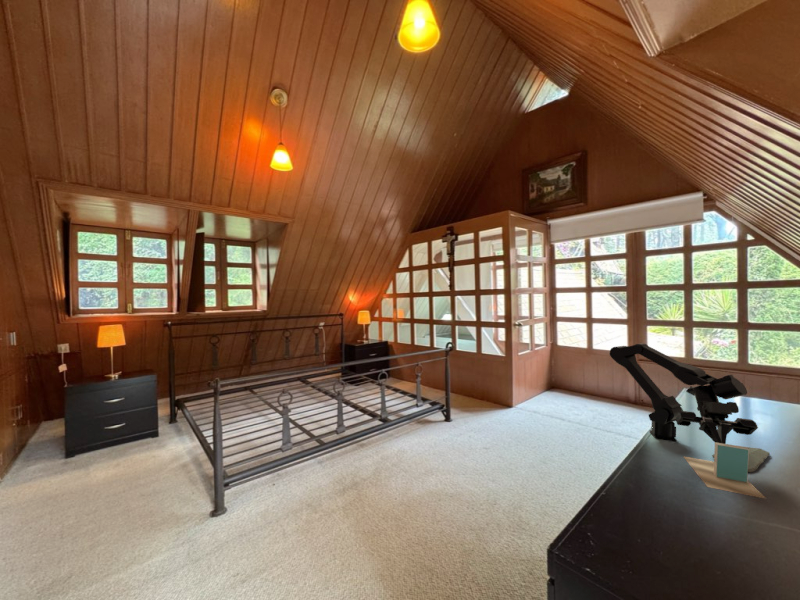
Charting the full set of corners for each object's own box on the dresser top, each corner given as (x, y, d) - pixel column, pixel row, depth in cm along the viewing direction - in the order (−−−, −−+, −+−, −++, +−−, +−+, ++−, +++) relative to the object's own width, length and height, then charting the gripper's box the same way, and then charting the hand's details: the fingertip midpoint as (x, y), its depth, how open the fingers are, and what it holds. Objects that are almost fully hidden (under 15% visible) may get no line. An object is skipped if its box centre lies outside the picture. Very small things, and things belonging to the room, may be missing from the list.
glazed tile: (713, 474, 98) (714, 442, 97) (744, 479, 95) (746, 447, 94) (716, 477, 96) (717, 444, 96) (747, 483, 93) (749, 449, 93)
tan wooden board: (683, 457, 108) (683, 456, 108) (731, 466, 103) (731, 464, 103) (707, 488, 92) (707, 486, 92) (766, 500, 86) (766, 498, 86)
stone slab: (710, 462, 106) (753, 473, 98) (709, 453, 106) (752, 464, 98) (733, 448, 117) (774, 456, 109) (732, 440, 117) (773, 448, 109)
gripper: (680, 387, 108) (692, 432, 98) (755, 395, 100) (777, 445, 91) (671, 402, 115) (681, 446, 106) (740, 410, 108) (759, 458, 98)
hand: (722, 448), depth 100 cm, fingers closed
